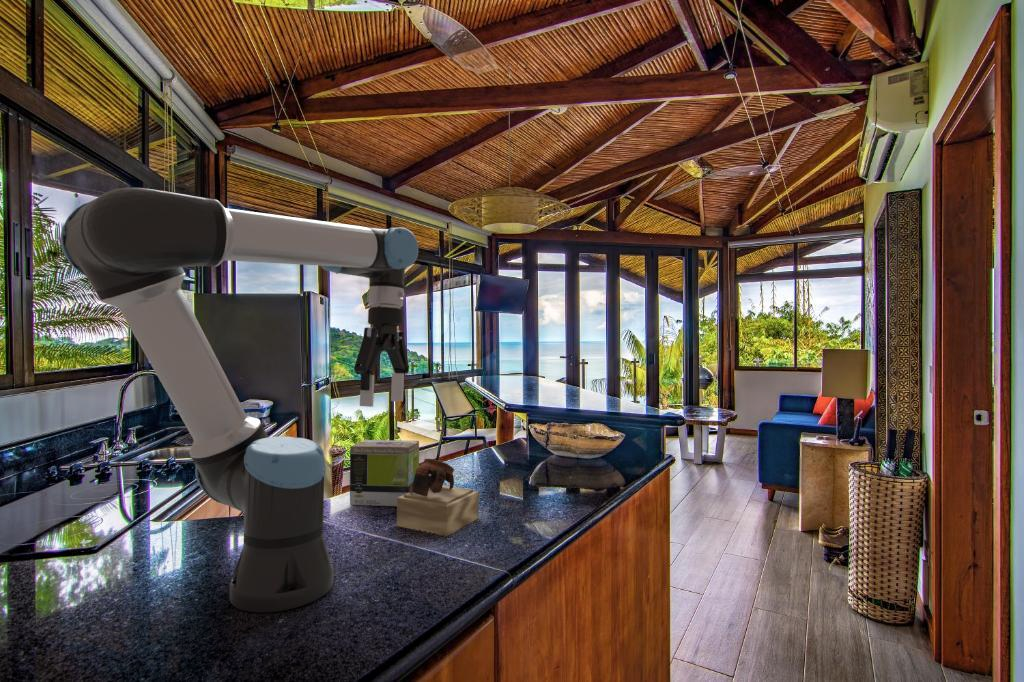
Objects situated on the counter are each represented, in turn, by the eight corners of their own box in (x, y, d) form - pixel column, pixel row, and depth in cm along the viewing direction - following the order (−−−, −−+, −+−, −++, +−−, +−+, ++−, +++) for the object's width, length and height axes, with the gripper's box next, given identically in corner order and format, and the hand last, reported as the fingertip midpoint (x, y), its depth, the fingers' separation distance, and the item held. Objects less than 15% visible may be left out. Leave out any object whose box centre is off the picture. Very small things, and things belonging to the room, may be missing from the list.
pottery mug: (401, 492, 118) (415, 457, 121) (437, 506, 121) (450, 472, 124) (419, 490, 107) (433, 453, 111) (458, 506, 111) (471, 469, 114)
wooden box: (446, 538, 107) (447, 504, 107) (396, 527, 113) (397, 495, 113) (478, 520, 119) (478, 489, 119) (431, 511, 125) (431, 481, 125)
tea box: (419, 496, 135) (420, 439, 135) (408, 508, 125) (409, 447, 125) (363, 494, 137) (364, 438, 137) (348, 505, 127) (349, 445, 127)
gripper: (372, 301, 102) (368, 409, 101) (425, 312, 126) (422, 400, 125) (338, 301, 104) (334, 407, 103) (396, 312, 128) (393, 398, 127)
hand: (382, 403), depth 114 cm, fingers open, 13 cm apart
